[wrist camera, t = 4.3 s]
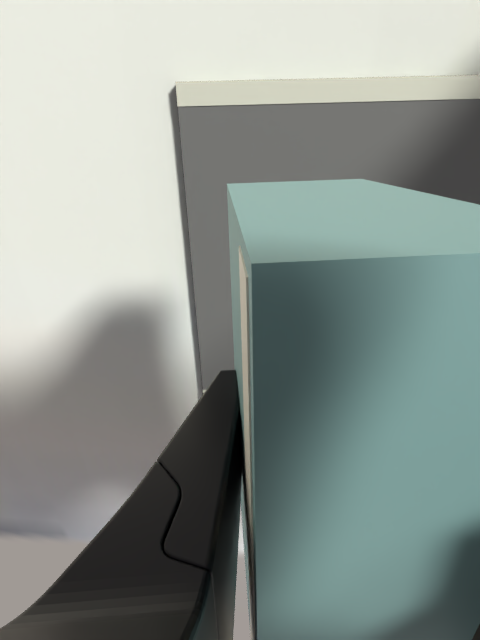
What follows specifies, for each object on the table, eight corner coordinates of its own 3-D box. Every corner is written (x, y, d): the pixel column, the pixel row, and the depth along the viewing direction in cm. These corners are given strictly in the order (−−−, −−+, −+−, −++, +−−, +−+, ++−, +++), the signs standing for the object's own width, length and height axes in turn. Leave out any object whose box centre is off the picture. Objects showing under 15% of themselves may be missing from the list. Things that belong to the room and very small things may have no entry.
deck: (362, 178, 8) (665, 244, 3) (330, 470, 12) (424, 738, 7) (226, 183, 8) (248, 263, 2) (238, 477, 12) (257, 755, 6)
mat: (524, 75, 15) (533, 73, 14) (444, 382, 21) (448, 386, 21) (176, 83, 14) (175, 81, 14) (203, 397, 20) (203, 402, 20)
